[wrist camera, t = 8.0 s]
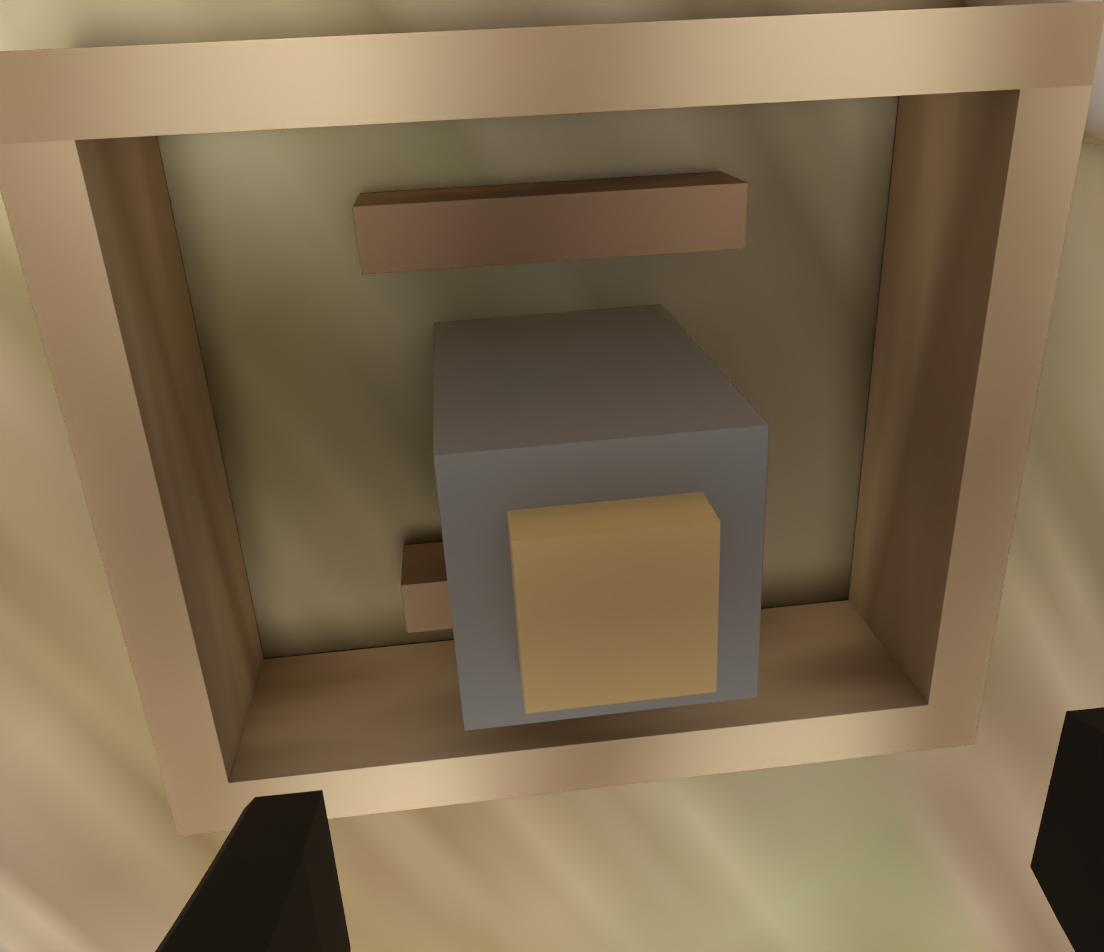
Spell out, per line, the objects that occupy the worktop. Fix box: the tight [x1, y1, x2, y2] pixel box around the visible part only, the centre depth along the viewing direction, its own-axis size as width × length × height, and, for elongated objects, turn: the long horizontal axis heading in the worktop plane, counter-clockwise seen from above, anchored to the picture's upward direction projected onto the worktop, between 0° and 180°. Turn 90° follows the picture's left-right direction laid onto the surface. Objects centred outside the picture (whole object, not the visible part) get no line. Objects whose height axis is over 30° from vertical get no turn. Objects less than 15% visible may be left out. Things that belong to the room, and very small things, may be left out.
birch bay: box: [0, 1, 1104, 836], centre depth 15 cm, size 14×12×4 cm
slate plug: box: [433, 304, 769, 731], centre depth 14 cm, size 4×4×7 cm
